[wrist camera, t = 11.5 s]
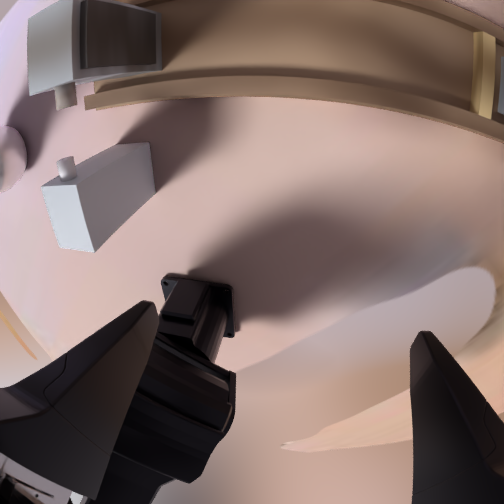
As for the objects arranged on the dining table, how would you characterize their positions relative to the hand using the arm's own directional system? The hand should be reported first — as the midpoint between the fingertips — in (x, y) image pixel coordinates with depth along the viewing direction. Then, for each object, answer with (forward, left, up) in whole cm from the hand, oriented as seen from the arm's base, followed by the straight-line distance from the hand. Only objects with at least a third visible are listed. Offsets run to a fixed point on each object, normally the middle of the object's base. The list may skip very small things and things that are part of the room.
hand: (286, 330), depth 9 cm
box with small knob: (+1, +12, -12) cm, 17 cm away
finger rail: (+10, -2, -12) cm, 16 cm away
